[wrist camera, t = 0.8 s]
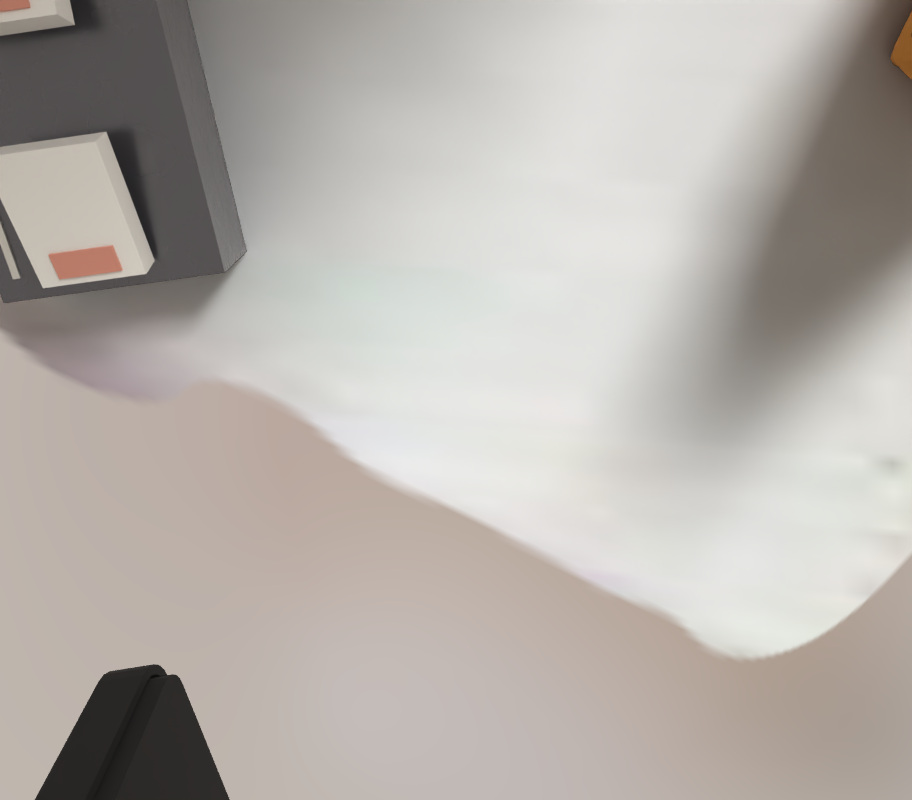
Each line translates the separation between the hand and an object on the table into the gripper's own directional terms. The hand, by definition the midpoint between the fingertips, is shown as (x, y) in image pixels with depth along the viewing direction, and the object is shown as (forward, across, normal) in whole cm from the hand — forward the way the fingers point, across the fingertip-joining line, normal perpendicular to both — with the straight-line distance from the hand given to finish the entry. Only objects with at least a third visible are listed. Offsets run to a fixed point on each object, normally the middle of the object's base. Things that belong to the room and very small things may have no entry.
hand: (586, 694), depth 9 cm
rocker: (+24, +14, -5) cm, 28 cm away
